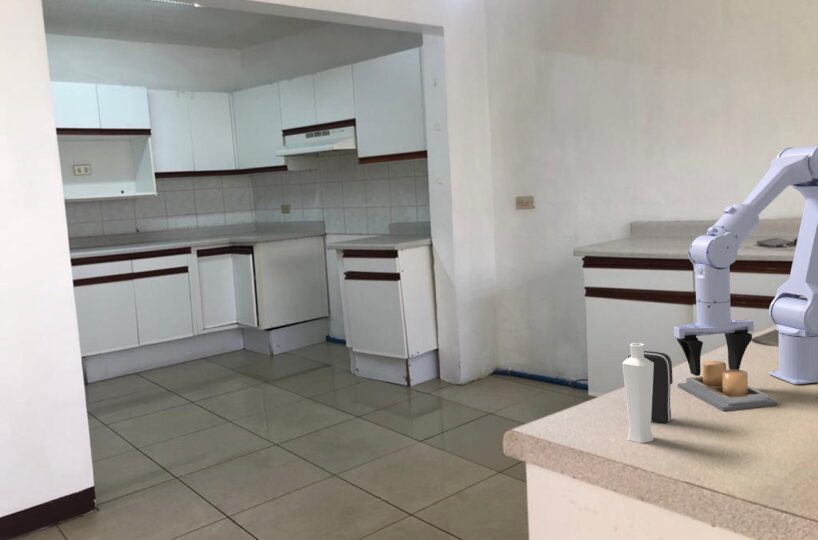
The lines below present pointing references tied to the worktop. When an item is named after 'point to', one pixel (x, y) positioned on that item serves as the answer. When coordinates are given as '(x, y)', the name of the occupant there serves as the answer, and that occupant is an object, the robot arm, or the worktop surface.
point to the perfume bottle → (638, 393)
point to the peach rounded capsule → (713, 373)
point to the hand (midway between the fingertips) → (714, 372)
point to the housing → (728, 392)
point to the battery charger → (660, 385)
